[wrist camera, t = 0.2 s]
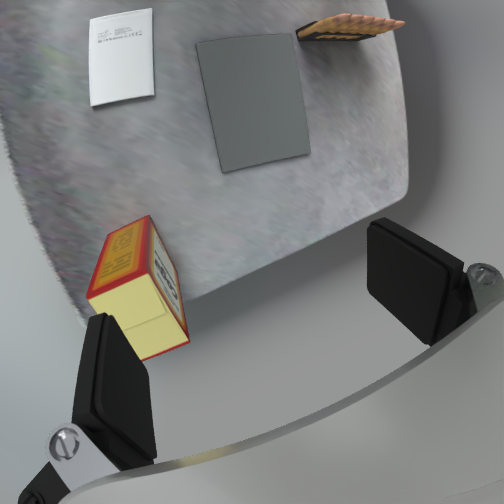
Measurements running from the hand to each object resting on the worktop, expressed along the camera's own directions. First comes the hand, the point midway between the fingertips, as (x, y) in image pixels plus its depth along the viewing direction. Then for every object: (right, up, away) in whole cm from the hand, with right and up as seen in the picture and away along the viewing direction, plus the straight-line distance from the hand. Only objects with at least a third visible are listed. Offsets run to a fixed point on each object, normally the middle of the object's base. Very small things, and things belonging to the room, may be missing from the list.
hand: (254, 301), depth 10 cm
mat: (+1, +22, +26) cm, 34 cm away
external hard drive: (-16, +26, +19) cm, 36 cm away
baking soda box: (-15, +2, +30) cm, 34 cm away
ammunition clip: (+11, +34, +24) cm, 43 cm away
